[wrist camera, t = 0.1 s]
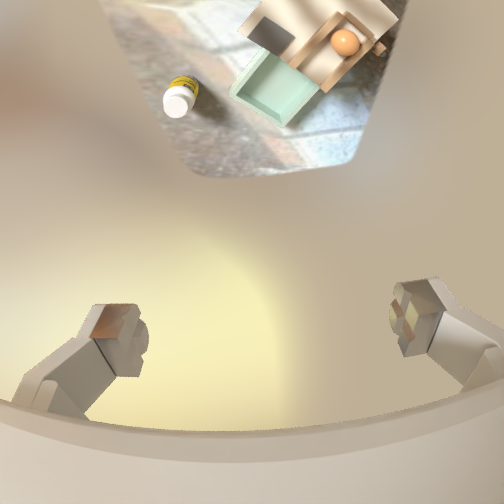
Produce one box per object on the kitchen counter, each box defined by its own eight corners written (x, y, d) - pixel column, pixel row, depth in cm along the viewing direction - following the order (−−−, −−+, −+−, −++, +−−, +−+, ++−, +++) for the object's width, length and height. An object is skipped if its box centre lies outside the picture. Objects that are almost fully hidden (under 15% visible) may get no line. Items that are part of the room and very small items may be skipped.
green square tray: (267, 40, 45) (269, 45, 42) (318, 75, 51) (324, 84, 48) (229, 87, 52) (229, 96, 50) (280, 118, 58) (282, 128, 55)
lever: (304, -50, 29) (317, -54, 24) (380, 12, 37) (403, 21, 31) (238, 24, 40) (237, 33, 34) (316, 76, 47) (328, 95, 42)
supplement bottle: (203, 78, 51) (197, 98, 44) (194, 102, 54) (187, 126, 48) (175, 70, 49) (164, 89, 43) (167, 95, 53) (155, 117, 47)
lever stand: (276, -51, 31) (285, -57, 25) (376, 26, 42) (403, 40, 35) (247, -19, 36) (249, -18, 29) (348, 54, 47) (369, 72, 40)
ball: (339, 21, 34) (348, 26, 31) (359, 39, 35) (369, 45, 33) (322, 40, 36) (328, 46, 34) (342, 56, 38) (350, 64, 35)
